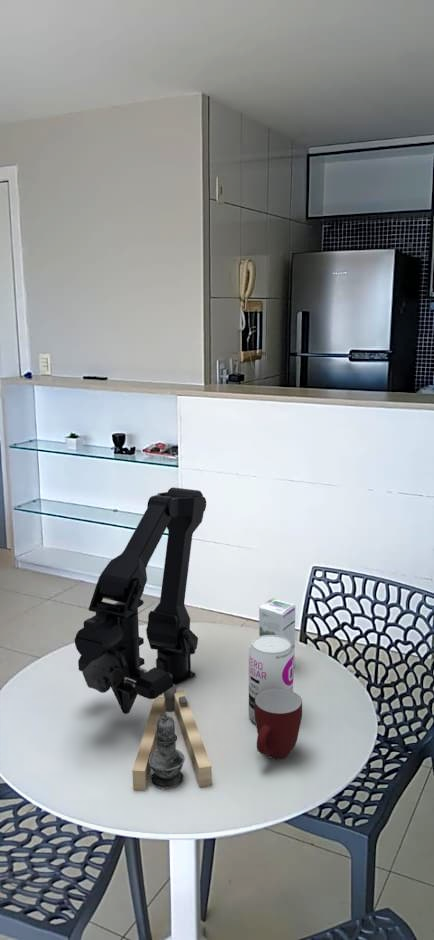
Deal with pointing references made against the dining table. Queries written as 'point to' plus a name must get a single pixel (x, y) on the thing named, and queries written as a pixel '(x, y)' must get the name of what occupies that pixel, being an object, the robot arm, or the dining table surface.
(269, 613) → the syrup box
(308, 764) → the dining table surface
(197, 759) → the tongs fixed arm
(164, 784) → the salt shaker
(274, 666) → the supplement can
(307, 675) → the dining table surface
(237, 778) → the dining table surface
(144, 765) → the tongs jaw
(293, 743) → the mug
